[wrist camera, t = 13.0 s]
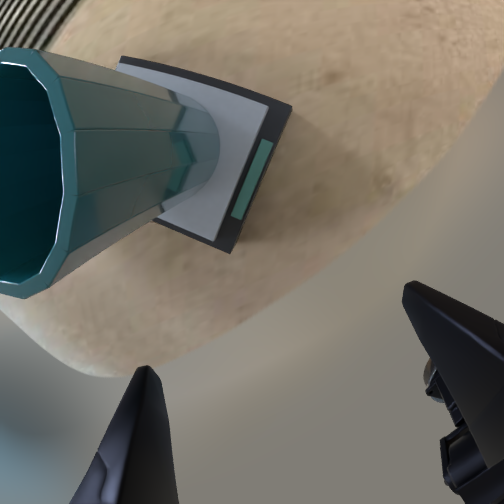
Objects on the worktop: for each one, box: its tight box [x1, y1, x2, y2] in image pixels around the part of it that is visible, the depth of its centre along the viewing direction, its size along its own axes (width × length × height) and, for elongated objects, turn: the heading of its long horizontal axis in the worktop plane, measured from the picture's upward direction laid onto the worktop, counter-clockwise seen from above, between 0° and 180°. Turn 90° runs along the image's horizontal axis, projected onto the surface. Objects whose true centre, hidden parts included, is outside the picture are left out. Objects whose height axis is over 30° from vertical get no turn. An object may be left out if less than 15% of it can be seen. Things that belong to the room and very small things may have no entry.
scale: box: [115, 56, 292, 254], centre depth 19 cm, size 12×10×3 cm
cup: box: [0, 47, 220, 299], centre depth 12 cm, size 7×7×13 cm
